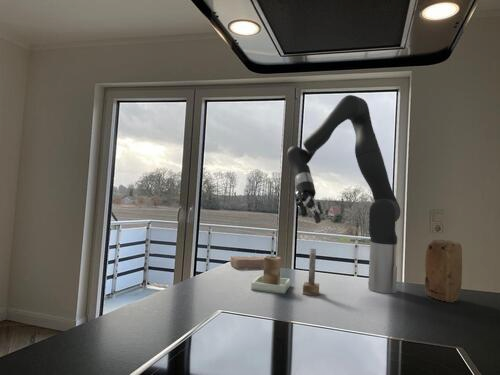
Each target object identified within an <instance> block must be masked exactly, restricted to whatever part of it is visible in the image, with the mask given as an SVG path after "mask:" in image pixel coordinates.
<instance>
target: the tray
mask: <svg viewBox="0 0 500 375" xmlns="http://www.w3.org/2000/svg"><path fill="white" fill-rule="evenodd" d="M250 283H251V285H250V291H257V292H258V291H259V292H265V293H266V292H267V293H274V294H275V293H276V294H282V295H285V294H286V293H287V291H288V290H289V289H290V287H291V278H288V277H287V278H285V277H280V285H274V284H266V283H263V275H258V276H257V277H255V279H254V280H253V281H252V282H250Z"/></svg>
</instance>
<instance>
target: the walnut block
mask: <svg viewBox="0 0 500 375" xmlns="http://www.w3.org/2000/svg"><path fill="white" fill-rule="evenodd" d="M264 257H265V258H264V268H263V275H262V276H263V283H266V284H274V285H280V278H281V266H282V265H281V264H282V263H281V262H282V257H281V256H273V255H267V256H264Z"/></svg>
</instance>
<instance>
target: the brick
mask: <svg viewBox="0 0 500 375" xmlns="http://www.w3.org/2000/svg"><path fill="white" fill-rule="evenodd" d="M265 257H266V256H240V255H232V256H230V265H231V267H233V268H235V269H237V270H238V269H239V270H252V269H254V270H255V269H264V258H265Z"/></svg>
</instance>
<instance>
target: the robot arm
mask: <svg viewBox="0 0 500 375" xmlns="http://www.w3.org/2000/svg"><path fill="white" fill-rule="evenodd" d="M347 120H349V121H350V122H351V124H352V128H353V130H354V133H355V145H354V147H355V148H354V155H355V158H356V162H357V165H358V168H359V170H360V173H361V175H362V176H363V178H364V180H365V181H366V183H367V185H368V187H369V188H370V190H371V194H372V197H373V198H372V199H373V202H372V204H371V206H370V208H369V214H368V224H369V225H368V232H369V233H368V234H369V237H370V238H369V239H370V241H369V242H370V243H369V244H370V245H369V259H368V260H369V264H368V265H369V266H368V282H367V283H368V286H367V287H368V289H369V290H370V291H373V292H375V293H376V292H377V293H381V294H397V280H398V279H397V278H398V266H397V255H398V254H397V253H398V252H397V251H398V236H397V233H396V222H397V221H399V219H400V217H401V207H400V205H399V202H398V201H397V197H396V195H395V193H394V191H393V189H392V186H391V183H390V180H389V176H388V171H387V168H386V165H385V161H384V158H383V155H382V151H381V148H380V146H379V145H380V144H379V143H378V140H377V136H376V133H375V130H374V127H373V124H372V119H371V113H370V108H369V105H368V103H367V101H366V100H364V98H362V97H359V96H356V95H352V94H348V95H346V96H344V97H343V98H341V99H340V101H338V103H337V104H336V105H335V107H334V108H333V109H332V111H331V112H330V113H329V114H328V115H327V117H326V118H324V120H323V122H322V123H321V124H320V125H319V126H318V127H317V128H316V129H314V131H312V132H311V133H310V134H309V135H308V136H307V137H306V138H305V139H304V140H303V143H302V144H303V147H304V149H303V148H302V147H299V146H296V145H294V146H293V145H292V146H290V147H289V148H288V150H287V153H286V157H287V162H288V163H289V164H288V165H289V166H290V168H291V169H292V172H293V175H294V176H293V177H294V185H295V190H296V192H294V200H295V205H296V206H297V207H298V208H299V209H300V214H301V217H302V218H305V217H307V216H308V209H309V211H310V212H311V213H312V214H313V217H314V222H315V223H316V224H320V223H321V221H322V220H321V215H323V213H324V212H323V210H322V206H321V205H322V204H321V202H320V201H319V200H318V201H316V199H315V196H316V194H317V192H316V189H315V183H314V179H313V177H312V174H311V169H310V166H309V165H308V164H309V163H310V161H311V160H312V159H313V157H314V155H315V154H316V152H317V151H318V150H320V149H321V147H323V146H324V145H325V144H326V143H327V142H328V141H329V140H330V138H331V136H332V134H333V133H334V131H335V130H336V129H337V128H338V127H339V125H341V124H343V123H344V122H346V121H347ZM307 208H308V209H307Z"/></svg>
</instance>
